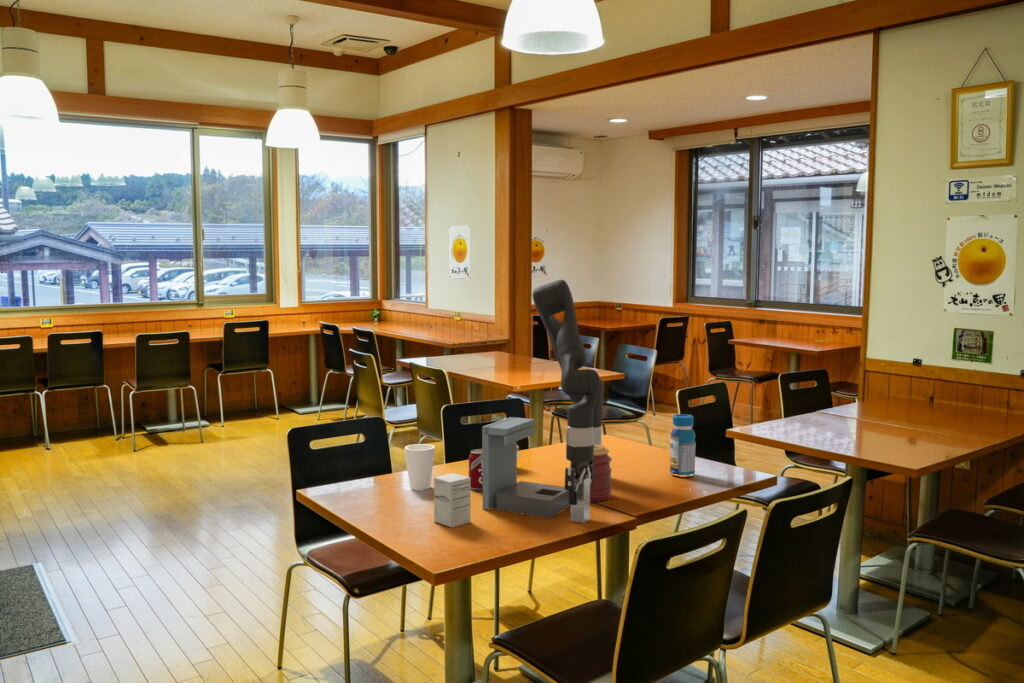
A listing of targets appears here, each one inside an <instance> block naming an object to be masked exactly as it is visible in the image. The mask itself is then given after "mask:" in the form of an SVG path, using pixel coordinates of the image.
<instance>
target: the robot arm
mask: <svg viewBox="0 0 1024 683" xmlns="http://www.w3.org/2000/svg"><path fill="white" fill-rule="evenodd" d="M531 296H532V300H533V304H534V306H535V309H536V311H537V312H538V315H539V317H540V320H541V321H542V323H543V326H544V328H545V330H546V332H547V335H548V338H549V340H550V344H551V347H552V349H553V352H554V355H555V358H556V360H557V362H558V364H559V367H560V370H561V376H560V377H561V378H560V387H561V388H560V389H561V390H562V392H563V393H564V394H565V395H567V396H568V398H569V399H570V401H571V403H573V404H570V405H568V407H567V412H566V413H567V414H566V415H567V416H566V420H567V422H566V423H567V426H566V427H567V428H566V435H565V436H566V438H565V441H566V442H565V446H566V447H565V453H566V454H565V458H566V460H568V461H569V462H570V461H571V468H569V467H565V470H564V487H565V490H568V491H569V504H570V505H577V497H578V491H577V490H578V486H579V484H581V482H582V478H584V477H586V476H589V477H590V484H591V482H592V480H594V443H595V444H598V445H602V437H603V436H602V430H603V429H602V426H603V425H602V424H603V423H602V421H603V411H604V410H603V409H604V408H603V407H604V402H603V401H604V393H605V392H604V389H605V388H604V384H603V380H602V379H601V378H600V375H599V373H598V372H597V371H596V370H595V369H592V368H591V369H581V368H583V367H584V366H585V365H586V362H587V357H586V356H587V355H586V349H585V346H584V343H583V341H582V340H583V339H582V338H581V335H580V333H579V327H578V325H579V324H578V320H577V314H576V307H575V303H574V299H573V294H572V292H571V289H570V287H569V285H568V283H567V281H565V280H564V279H559V280H554V281H551V282H548V283H546V284H542V285H540V286H537V287H536V288H534V289H533V290H532V295H531ZM563 312H564V314H563V319H562V321H561V320H559V319H557V318H556V317H555V316H554V315H556V314H559V313H563ZM590 472H591V473H590Z"/></svg>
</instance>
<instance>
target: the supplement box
mask: <svg viewBox="0 0 1024 683" xmlns="http://www.w3.org/2000/svg"><path fill="white" fill-rule="evenodd" d="M471 490H472V489H471V478H469V476H465V475H461V474H457V473H454V472H450V473H446V474H442V475H438V476H434V477H433V498H434V499H433V505H434V506H433V508H434V509H433V515H434V517H433V520H434V523H438V524H440V525H444V526H447V527H449V528H455V526H456V527H458V525H459V526H462V525H466V524H469V523H471V511H472V510H471V503H472V502H471V493H472V492H471ZM468 522H469V523H468ZM465 523H466V524H465Z"/></svg>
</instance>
